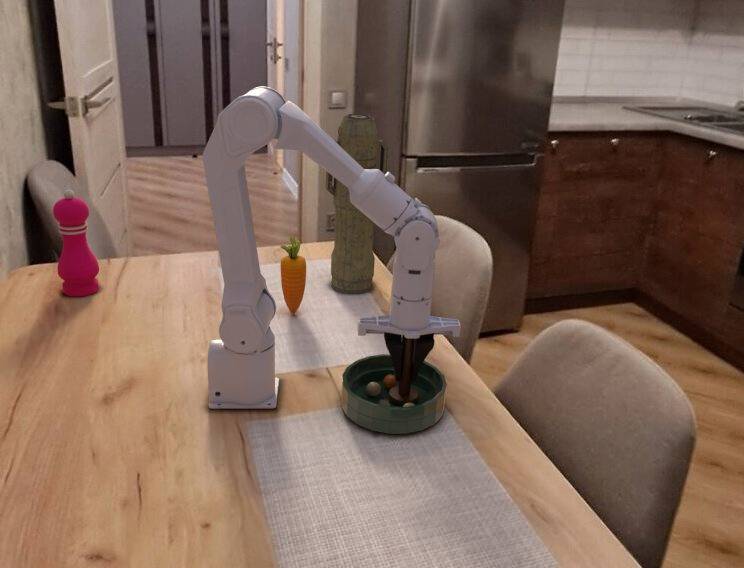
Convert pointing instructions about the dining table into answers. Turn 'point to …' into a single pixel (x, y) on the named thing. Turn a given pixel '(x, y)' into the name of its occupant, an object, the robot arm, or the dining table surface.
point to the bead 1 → (373, 389)
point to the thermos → (354, 209)
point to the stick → (405, 376)
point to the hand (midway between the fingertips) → (405, 377)
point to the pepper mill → (75, 247)
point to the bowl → (380, 408)
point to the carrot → (293, 275)
